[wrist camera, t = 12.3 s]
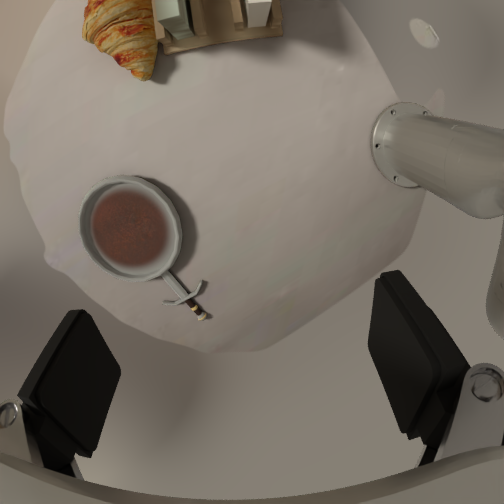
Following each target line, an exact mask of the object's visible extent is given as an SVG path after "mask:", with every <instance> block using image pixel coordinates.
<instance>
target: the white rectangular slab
mask: <svg viewBox="0 0 504 504" xmlns="http://www.w3.org/2000/svg"><path fill="white" fill-rule="evenodd" d="M271 2H272V0H244V7H245V13H246V19H247V26H248V28H251V27H261V26H266V22H267V18H268V14H269V10H270V6H271Z"/></svg>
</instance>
